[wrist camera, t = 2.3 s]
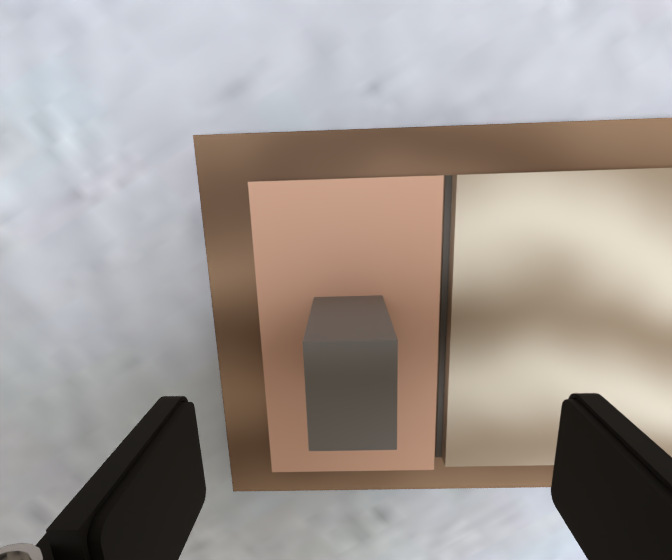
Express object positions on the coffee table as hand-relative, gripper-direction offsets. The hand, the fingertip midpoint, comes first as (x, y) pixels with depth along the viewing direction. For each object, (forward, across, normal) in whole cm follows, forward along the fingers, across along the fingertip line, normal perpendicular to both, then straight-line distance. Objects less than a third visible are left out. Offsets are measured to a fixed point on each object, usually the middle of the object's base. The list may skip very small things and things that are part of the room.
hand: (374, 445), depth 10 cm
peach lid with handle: (+9, +1, 0) cm, 9 cm away
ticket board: (+10, -5, 0) cm, 11 cm away
